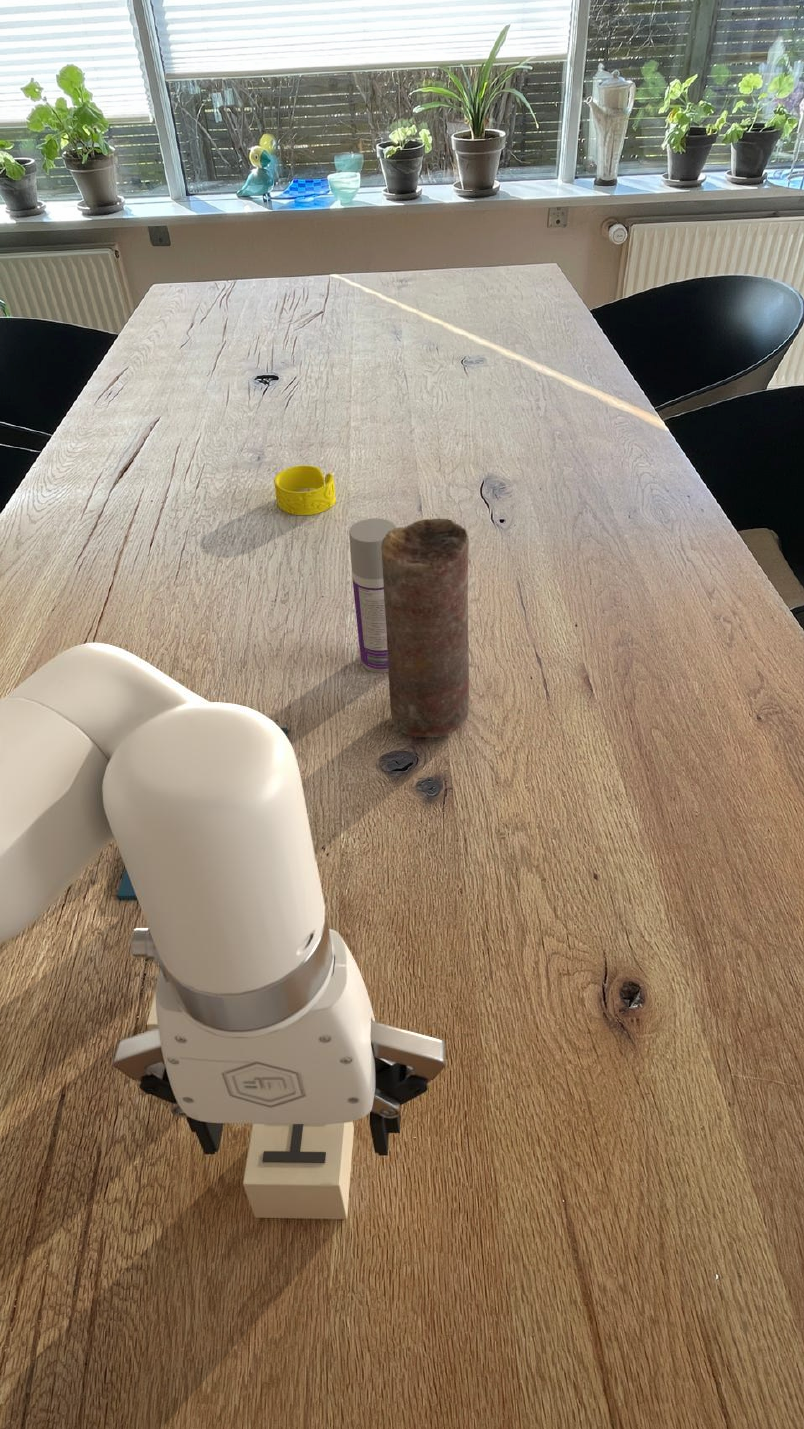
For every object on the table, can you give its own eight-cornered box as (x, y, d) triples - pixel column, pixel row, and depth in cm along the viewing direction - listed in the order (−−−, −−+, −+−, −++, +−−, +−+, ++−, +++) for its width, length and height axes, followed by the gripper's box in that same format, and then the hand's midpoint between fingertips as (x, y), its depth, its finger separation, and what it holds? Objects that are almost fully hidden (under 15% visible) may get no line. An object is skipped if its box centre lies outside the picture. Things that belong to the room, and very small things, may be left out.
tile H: (254, 1217, 56) (242, 1183, 53) (268, 1127, 60) (257, 1090, 57) (347, 1219, 56) (339, 1184, 53) (354, 1128, 60) (347, 1091, 57)
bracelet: (306, 521, 121) (302, 498, 119) (265, 503, 125) (261, 480, 123) (347, 499, 125) (344, 476, 123) (305, 482, 129) (302, 460, 127)
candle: (477, 742, 87) (477, 552, 74) (398, 754, 86) (384, 565, 73) (460, 691, 93) (456, 507, 80) (386, 702, 92) (370, 518, 79)
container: (366, 644, 100) (354, 516, 90) (410, 647, 99) (402, 518, 89) (355, 671, 96) (342, 541, 87) (401, 675, 95) (392, 544, 86)
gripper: (37, 1021, 41) (135, 1195, 52) (437, 1020, 40) (450, 1198, 51) (88, 886, 47) (166, 1068, 58) (438, 881, 46) (450, 1068, 57)
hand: (299, 1129), depth 54 cm, fingers open, 9 cm apart
